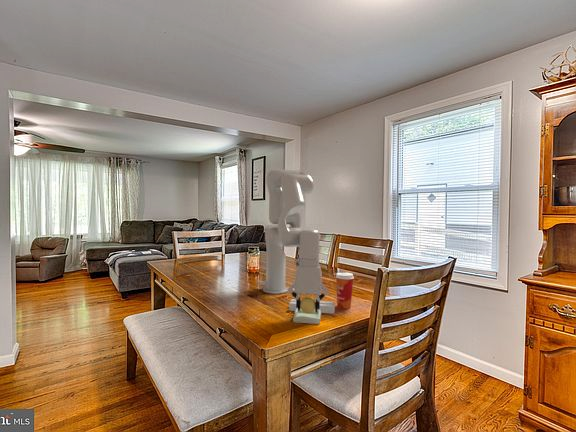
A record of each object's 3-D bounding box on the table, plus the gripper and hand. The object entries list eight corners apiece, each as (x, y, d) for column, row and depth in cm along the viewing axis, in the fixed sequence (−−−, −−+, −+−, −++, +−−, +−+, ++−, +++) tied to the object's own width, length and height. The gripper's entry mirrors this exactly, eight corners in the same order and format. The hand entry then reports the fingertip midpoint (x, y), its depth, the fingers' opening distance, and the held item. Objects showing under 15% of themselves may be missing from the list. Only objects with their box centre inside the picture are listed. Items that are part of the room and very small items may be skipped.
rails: (289, 310, 121) (289, 303, 121) (291, 306, 126) (291, 299, 126) (334, 313, 118) (334, 306, 118) (334, 309, 123) (334, 302, 123)
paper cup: (332, 304, 130) (333, 272, 130) (350, 303, 131) (351, 272, 130) (337, 310, 122) (338, 276, 122) (355, 310, 123) (356, 276, 122)
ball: (298, 314, 110) (299, 298, 110) (300, 309, 116) (300, 294, 116) (315, 316, 109) (315, 299, 109) (316, 310, 115) (316, 295, 115)
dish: (293, 322, 109) (293, 317, 109) (296, 312, 118) (296, 308, 118) (319, 324, 107) (319, 319, 107) (320, 314, 117) (321, 310, 117)
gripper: (284, 263, 110) (283, 312, 110) (332, 265, 107) (330, 315, 108) (287, 259, 117) (286, 305, 118) (332, 261, 115) (331, 308, 115)
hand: (307, 309), depth 113 cm, fingers closed on ball, 5 cm apart
